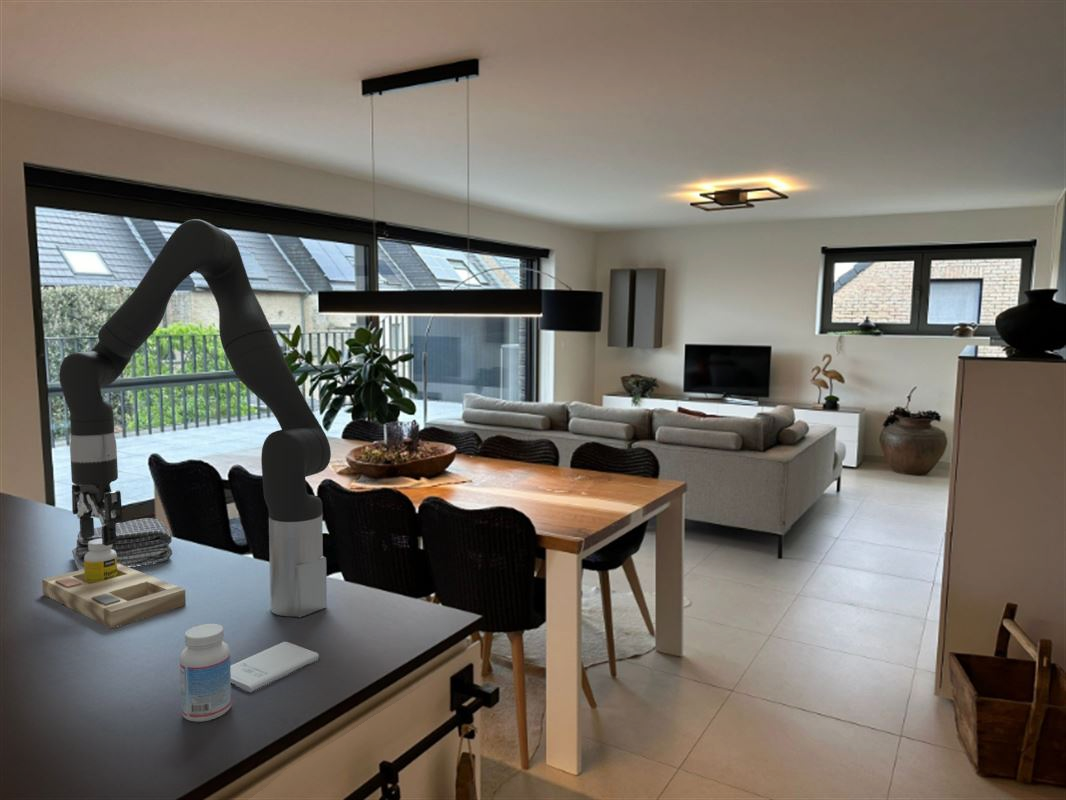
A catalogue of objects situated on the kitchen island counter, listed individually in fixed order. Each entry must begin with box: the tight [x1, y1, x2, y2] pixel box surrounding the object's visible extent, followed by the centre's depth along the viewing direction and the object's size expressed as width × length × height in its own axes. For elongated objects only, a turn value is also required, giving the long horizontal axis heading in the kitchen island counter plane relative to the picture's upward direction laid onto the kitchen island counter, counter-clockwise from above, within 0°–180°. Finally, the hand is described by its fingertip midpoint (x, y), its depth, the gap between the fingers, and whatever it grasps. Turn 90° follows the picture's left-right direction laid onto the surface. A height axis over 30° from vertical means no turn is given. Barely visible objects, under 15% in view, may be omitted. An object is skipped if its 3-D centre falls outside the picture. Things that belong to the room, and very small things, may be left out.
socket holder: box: [41, 563, 187, 629], centre depth 134 cm, size 26×13×3 cm, turn 56°
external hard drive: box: [230, 641, 320, 690], centre depth 108 cm, size 2×8×12 cm
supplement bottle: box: [84, 538, 117, 584], centre depth 138 cm, size 5×5×10 cm
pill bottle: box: [179, 623, 233, 723], centre depth 96 cm, size 6×6×11 cm
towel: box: [71, 517, 174, 571], centre depth 157 cm, size 15×18×8 cm
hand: (98, 540), depth 137 cm, fingers open, 8 cm apart
